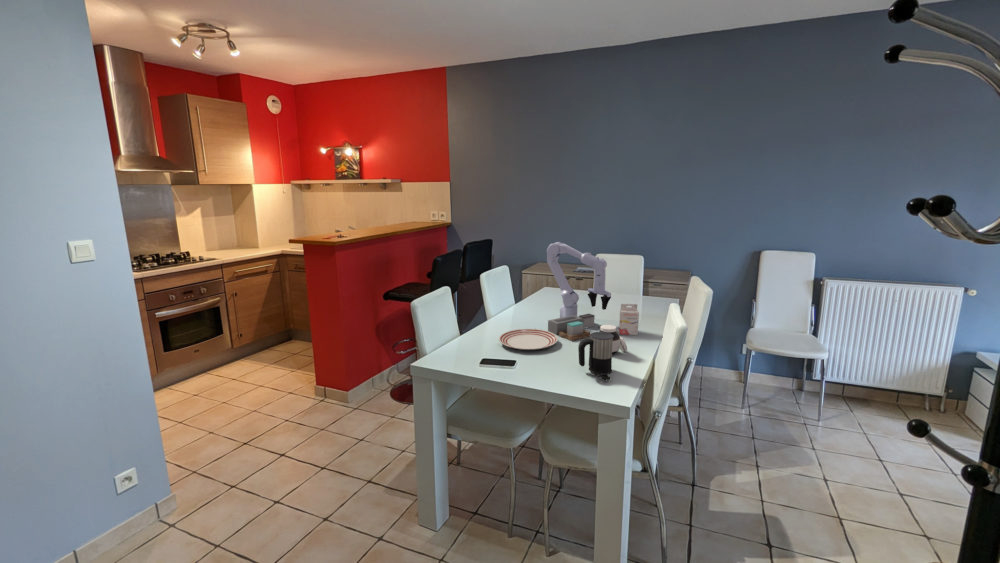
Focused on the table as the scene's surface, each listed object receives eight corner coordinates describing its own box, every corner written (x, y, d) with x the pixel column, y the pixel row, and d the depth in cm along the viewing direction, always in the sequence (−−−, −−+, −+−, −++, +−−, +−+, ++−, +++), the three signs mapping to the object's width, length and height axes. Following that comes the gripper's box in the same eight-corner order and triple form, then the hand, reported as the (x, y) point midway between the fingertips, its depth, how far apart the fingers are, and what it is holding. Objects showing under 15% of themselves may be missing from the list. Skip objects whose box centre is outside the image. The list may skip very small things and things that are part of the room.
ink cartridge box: (620, 334, 233) (621, 306, 230) (618, 331, 238) (620, 303, 235) (638, 335, 232) (639, 306, 229) (636, 332, 237) (637, 303, 234)
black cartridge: (578, 326, 248) (579, 315, 247) (588, 324, 252) (589, 313, 250) (584, 328, 245) (584, 317, 243) (594, 326, 248) (594, 315, 247)
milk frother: (602, 364, 195) (603, 330, 192) (628, 378, 181) (630, 341, 178) (574, 370, 189) (574, 335, 186) (599, 385, 175) (600, 347, 172)
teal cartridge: (566, 335, 231) (567, 323, 230) (577, 332, 235) (577, 321, 234) (572, 337, 228) (572, 325, 227) (583, 334, 232) (583, 323, 231)
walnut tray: (559, 336, 232) (559, 331, 232) (577, 331, 239) (577, 327, 238) (571, 341, 225) (571, 336, 224) (590, 336, 231) (590, 332, 231)
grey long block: (547, 331, 240) (547, 319, 238) (573, 326, 249) (573, 314, 247) (556, 335, 234) (557, 323, 232) (582, 329, 243) (582, 317, 241)
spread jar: (592, 351, 211) (593, 326, 209) (608, 345, 218) (609, 321, 216) (615, 358, 202) (616, 332, 200) (630, 352, 209) (631, 327, 207)
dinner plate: (554, 356, 206) (554, 348, 205) (493, 352, 212) (493, 345, 211) (559, 336, 232) (559, 330, 232) (505, 333, 238) (505, 327, 237)
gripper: (584, 281, 249) (583, 306, 252) (604, 285, 237) (603, 311, 240) (593, 279, 253) (592, 304, 255) (614, 284, 241) (613, 309, 244)
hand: (598, 307), depth 248 cm, fingers open, 7 cm apart
